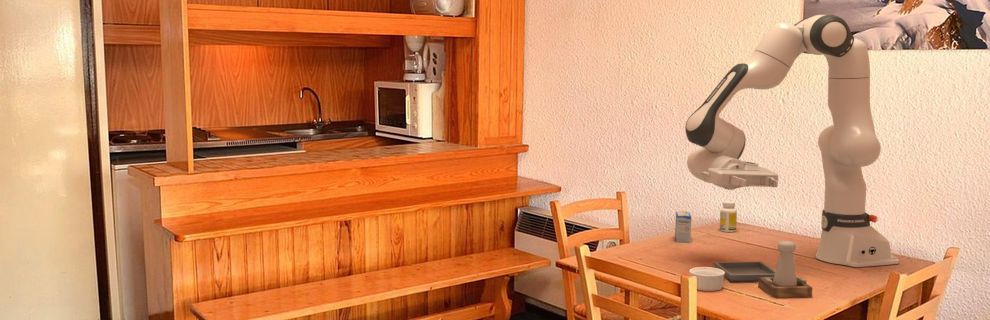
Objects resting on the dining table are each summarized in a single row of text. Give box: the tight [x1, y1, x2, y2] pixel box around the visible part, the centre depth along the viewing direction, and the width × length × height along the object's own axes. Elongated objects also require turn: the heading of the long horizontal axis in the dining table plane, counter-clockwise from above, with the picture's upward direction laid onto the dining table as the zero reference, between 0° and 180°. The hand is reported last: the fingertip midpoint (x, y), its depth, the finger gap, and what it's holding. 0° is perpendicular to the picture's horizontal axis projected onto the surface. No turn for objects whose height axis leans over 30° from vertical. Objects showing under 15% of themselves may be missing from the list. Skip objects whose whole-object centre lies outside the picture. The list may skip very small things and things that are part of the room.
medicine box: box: [674, 210, 692, 244], centre depth 277 cm, size 8×4×9 cm, turn 172°
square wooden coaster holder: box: [757, 276, 813, 299], centre depth 219 cm, size 10×10×3 cm
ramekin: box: [689, 266, 725, 292], centre depth 224 cm, size 9×9×4 cm
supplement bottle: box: [719, 200, 738, 233], centre depth 290 cm, size 5×5×10 cm
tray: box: [713, 260, 776, 284], centre depth 235 cm, size 14×14×2 cm
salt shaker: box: [773, 240, 797, 287], centre depth 219 cm, size 6×6×13 cm
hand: (761, 183), depth 228 cm, fingers open, 8 cm apart
